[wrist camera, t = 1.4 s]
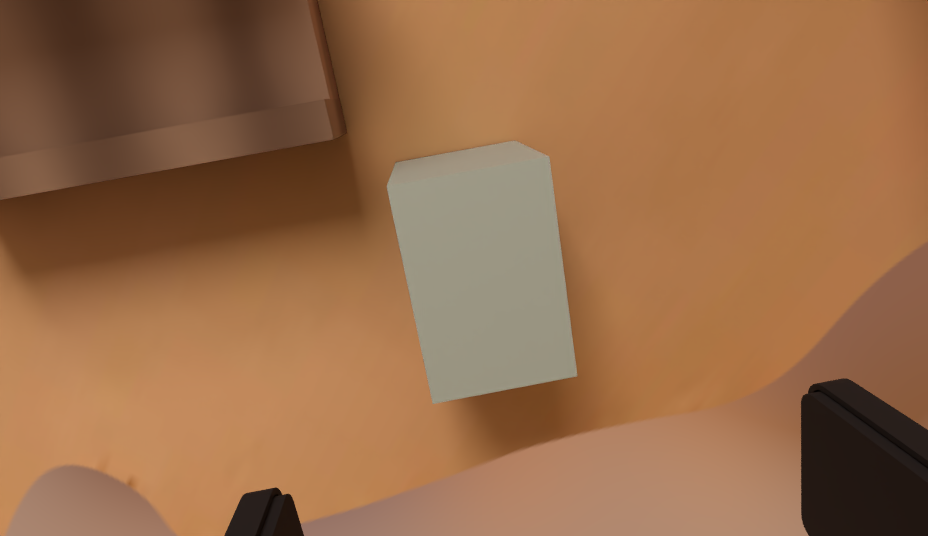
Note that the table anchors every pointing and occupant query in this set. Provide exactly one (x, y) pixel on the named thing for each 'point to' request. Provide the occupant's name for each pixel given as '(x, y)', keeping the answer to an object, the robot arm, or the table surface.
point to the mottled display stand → (156, 86)
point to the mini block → (484, 268)
